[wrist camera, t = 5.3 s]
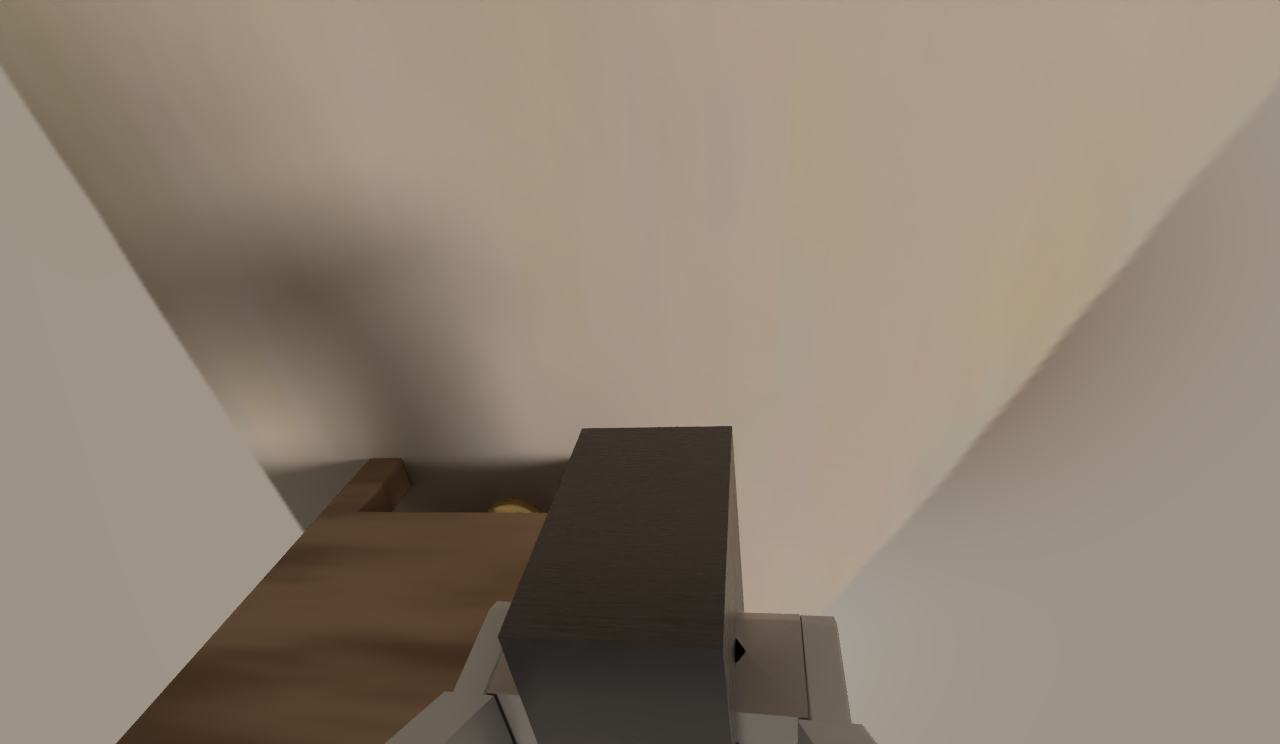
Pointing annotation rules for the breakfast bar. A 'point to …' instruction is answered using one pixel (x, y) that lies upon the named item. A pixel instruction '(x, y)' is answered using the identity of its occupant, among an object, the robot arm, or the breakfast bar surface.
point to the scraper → (633, 593)
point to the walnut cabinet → (348, 624)
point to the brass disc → (513, 507)
